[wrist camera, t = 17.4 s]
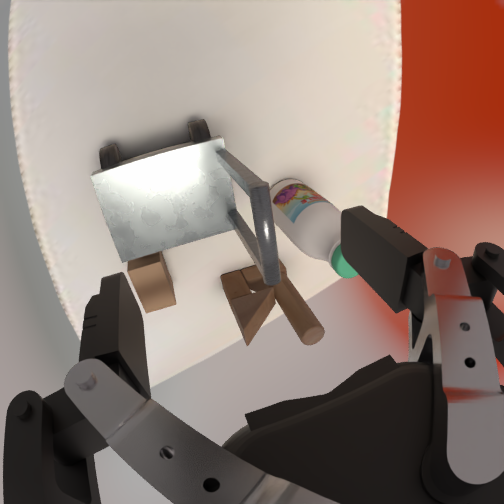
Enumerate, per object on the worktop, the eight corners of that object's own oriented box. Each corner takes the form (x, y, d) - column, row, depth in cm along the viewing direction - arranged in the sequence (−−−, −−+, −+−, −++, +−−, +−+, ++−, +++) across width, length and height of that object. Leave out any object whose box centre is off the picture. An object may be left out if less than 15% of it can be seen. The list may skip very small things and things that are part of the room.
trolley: (96, 147, 38) (49, 206, 19) (208, 115, 41) (265, 142, 22) (129, 245, 47) (126, 358, 28) (228, 216, 50) (286, 309, 30)
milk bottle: (306, 219, 54) (374, 284, 38) (263, 224, 52) (321, 296, 36) (309, 176, 51) (387, 228, 34) (265, 179, 49) (330, 235, 32)
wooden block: (219, 274, 55) (251, 349, 40) (278, 257, 57) (326, 322, 42) (223, 291, 57) (255, 366, 42) (280, 273, 58) (326, 340, 44)
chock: (128, 251, 47) (127, 271, 43) (158, 242, 48) (160, 261, 43) (145, 290, 52) (146, 313, 47) (172, 282, 53) (176, 304, 48)
